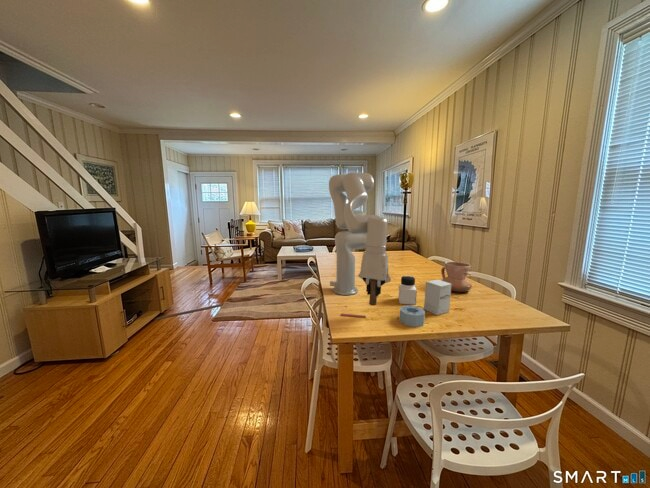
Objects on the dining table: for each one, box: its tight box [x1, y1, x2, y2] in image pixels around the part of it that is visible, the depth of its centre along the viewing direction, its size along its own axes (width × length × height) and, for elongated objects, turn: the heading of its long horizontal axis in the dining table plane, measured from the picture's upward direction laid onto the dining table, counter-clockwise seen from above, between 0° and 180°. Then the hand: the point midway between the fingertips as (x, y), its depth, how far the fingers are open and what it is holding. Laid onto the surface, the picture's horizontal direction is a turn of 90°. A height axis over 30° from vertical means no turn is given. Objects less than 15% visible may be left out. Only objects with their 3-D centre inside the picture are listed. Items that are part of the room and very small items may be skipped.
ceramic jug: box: [441, 260, 473, 293], centre depth 134 cm, size 18×14×14 cm
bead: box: [399, 304, 426, 328], centre depth 98 cm, size 9×9×5 cm
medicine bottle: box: [398, 275, 418, 306], centre depth 118 cm, size 7×7×12 cm
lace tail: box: [340, 313, 367, 318], centre depth 103 cm, size 10×1×1 cm, turn 78°
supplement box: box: [423, 279, 452, 316], centre depth 108 cm, size 7×7×13 cm
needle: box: [368, 279, 378, 307], centre depth 100 cm, size 3×3×13 cm
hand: (373, 294), depth 101 cm, fingers closed on needle, 2 cm apart
